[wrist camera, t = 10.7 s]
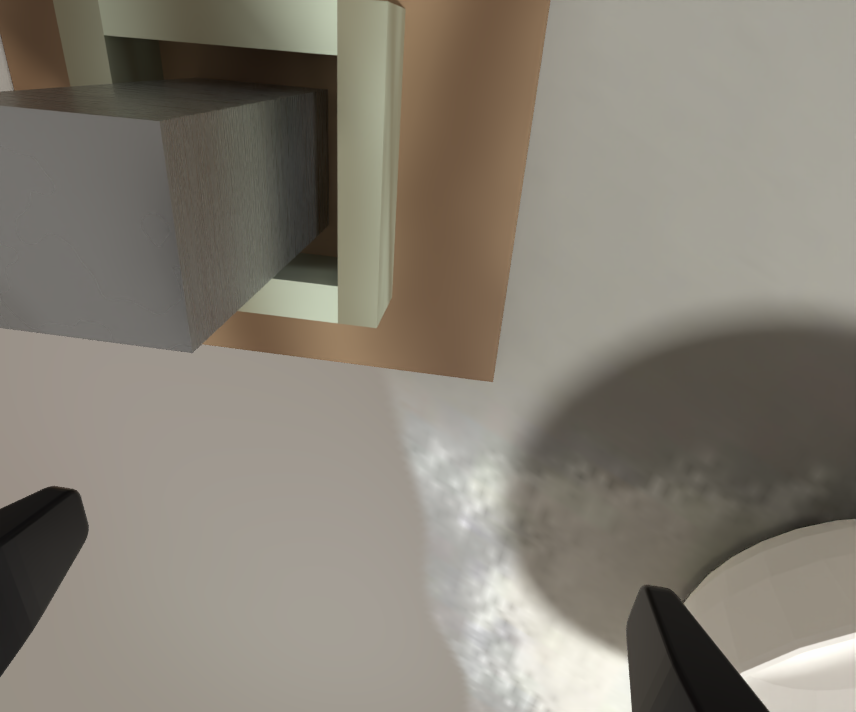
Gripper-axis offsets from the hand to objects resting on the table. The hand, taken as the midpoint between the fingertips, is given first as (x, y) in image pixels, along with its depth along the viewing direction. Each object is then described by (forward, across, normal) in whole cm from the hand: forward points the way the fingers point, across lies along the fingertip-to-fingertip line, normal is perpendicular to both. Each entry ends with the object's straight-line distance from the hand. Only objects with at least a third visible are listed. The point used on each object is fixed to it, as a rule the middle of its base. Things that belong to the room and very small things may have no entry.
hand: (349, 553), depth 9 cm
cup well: (+12, +6, -4) cm, 14 cm away
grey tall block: (+11, +6, -4) cm, 13 cm away
